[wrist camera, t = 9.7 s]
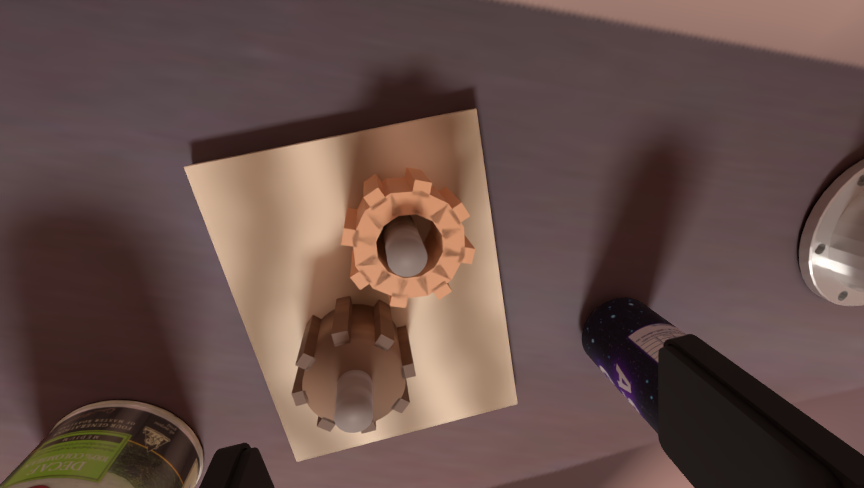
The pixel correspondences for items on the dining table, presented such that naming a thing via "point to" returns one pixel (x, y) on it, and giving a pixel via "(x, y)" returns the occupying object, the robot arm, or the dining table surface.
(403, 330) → the gear board
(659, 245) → the dining table surface
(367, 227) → the loose gear
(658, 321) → the beverage can
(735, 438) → the robot arm
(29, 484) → the coffee can
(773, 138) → the dining table surface
